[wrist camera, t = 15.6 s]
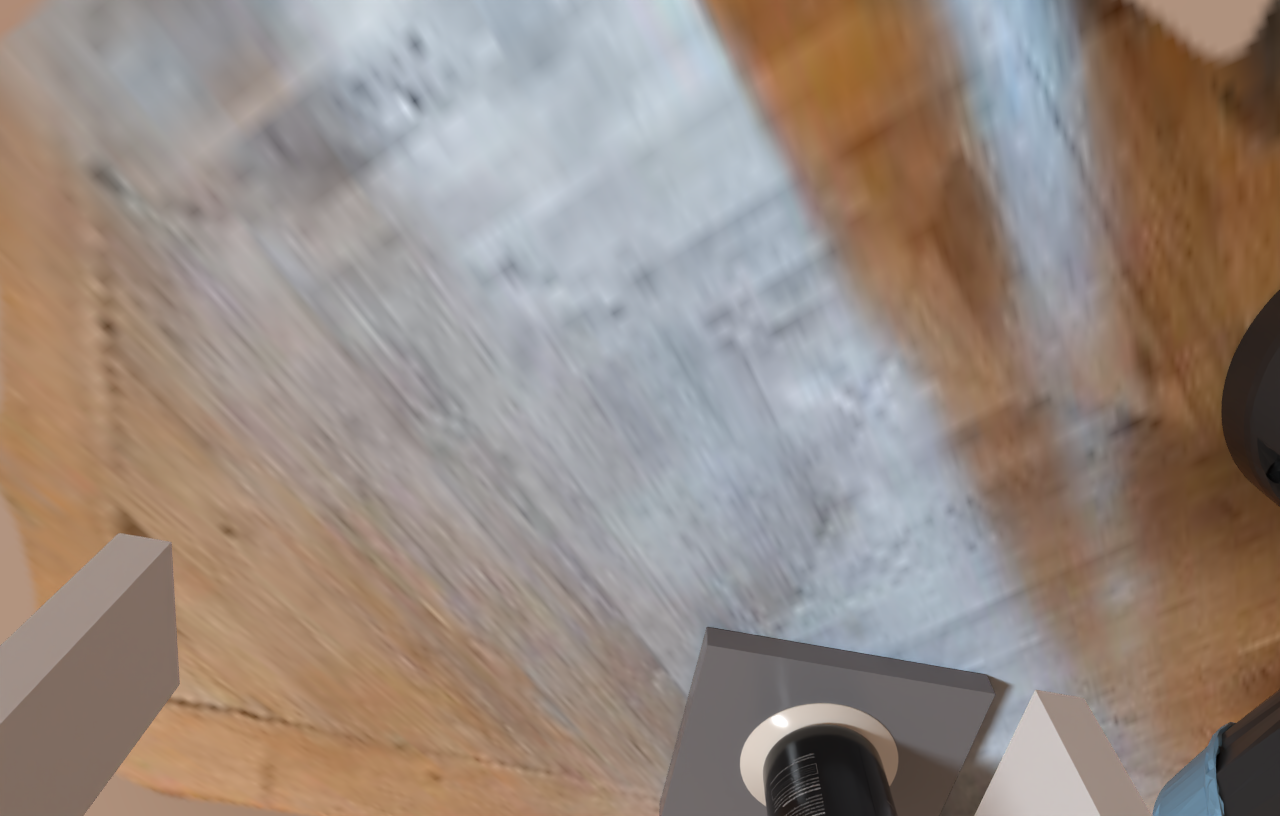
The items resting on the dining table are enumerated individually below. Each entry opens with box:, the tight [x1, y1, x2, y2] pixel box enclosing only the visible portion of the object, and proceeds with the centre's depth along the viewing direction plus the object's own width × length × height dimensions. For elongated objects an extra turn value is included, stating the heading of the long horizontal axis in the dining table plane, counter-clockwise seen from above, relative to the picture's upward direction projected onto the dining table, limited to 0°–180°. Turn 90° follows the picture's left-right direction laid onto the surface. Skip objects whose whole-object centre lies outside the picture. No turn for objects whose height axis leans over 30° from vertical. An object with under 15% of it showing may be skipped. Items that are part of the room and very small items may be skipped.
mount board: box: [659, 627, 995, 816], centre depth 51 cm, size 16×14×2 cm
